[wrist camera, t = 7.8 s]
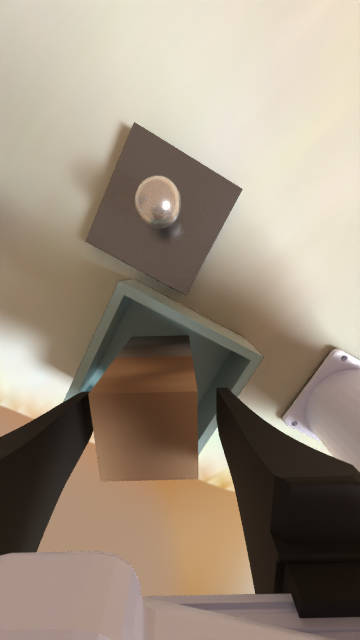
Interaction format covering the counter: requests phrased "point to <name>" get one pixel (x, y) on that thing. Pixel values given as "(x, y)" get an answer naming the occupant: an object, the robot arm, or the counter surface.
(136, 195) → the stud mount
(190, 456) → the brown rectangular block
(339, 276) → the counter surface
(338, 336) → the counter surface
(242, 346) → the bin
